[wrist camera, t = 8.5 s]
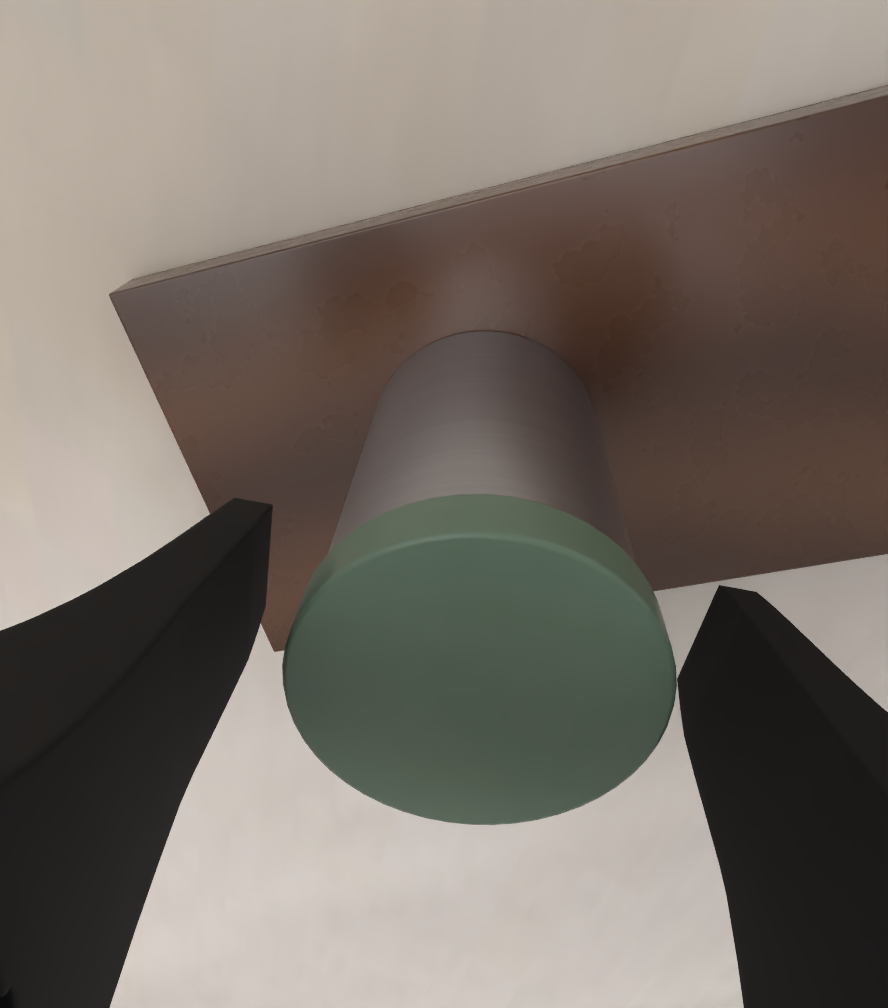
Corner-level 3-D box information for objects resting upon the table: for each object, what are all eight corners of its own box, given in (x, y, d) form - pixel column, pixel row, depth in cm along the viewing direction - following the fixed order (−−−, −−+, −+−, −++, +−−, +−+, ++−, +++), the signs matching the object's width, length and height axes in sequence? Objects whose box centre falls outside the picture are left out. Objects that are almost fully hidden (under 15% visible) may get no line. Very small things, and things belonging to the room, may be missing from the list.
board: (1249, 463, 18) (1296, 489, 17) (283, 624, 22) (273, 652, 21) (1401, -48, 13) (1479, -56, 12) (130, 279, 17) (107, 293, 16)
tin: (618, 515, 18) (695, 805, 11) (402, 554, 19) (349, 844, 12) (583, 297, 16) (653, 495, 9) (336, 353, 17) (219, 574, 10)
